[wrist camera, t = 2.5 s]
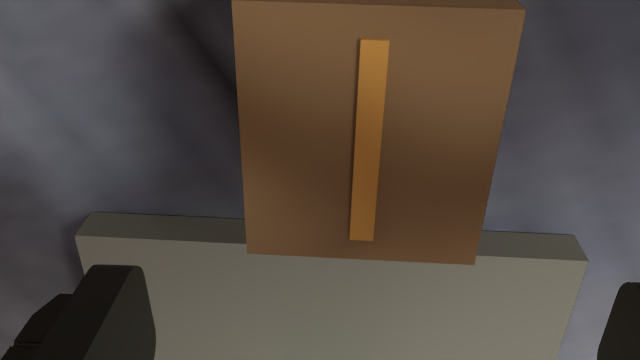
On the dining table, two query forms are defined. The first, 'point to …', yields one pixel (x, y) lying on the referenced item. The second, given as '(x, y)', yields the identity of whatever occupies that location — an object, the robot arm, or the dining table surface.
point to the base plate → (339, 295)
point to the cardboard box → (371, 124)
